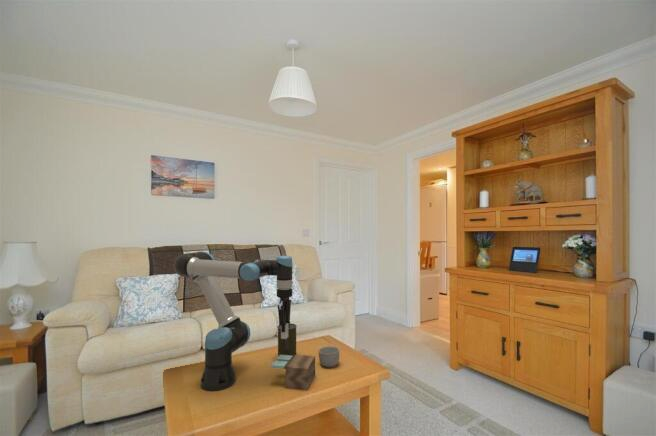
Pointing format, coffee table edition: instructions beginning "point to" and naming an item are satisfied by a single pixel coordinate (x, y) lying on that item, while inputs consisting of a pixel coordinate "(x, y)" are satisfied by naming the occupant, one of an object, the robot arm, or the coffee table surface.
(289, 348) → the canister
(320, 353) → the teacup
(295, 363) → the block
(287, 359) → the stub far
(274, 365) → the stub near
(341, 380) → the coffee table surface
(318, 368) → the coffee table surface
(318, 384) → the coffee table surface
